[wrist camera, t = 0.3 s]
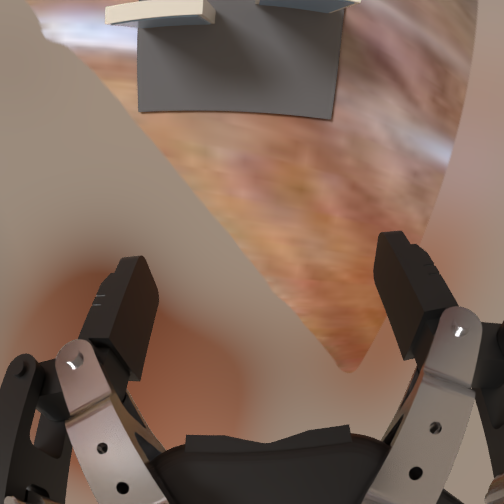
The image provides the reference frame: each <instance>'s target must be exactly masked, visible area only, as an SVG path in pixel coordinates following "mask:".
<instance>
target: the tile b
mask: <svg viewBox="0 0 504 504" xmlns="http://www.w3.org/2000/svg"><path fill="white" fill-rule="evenodd" d="M359 3H361V0H255V4H259V5H266V6H277V7H287V8H295V9H303V10H310V11H316V12H322V13H332V12H335V11H338V10H341V9H344V8H347V7H350V6H353V5H356V4H359Z"/></svg>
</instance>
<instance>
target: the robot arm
mask: <svg viewBox="0 0 504 504" xmlns="http://www.w3.org/2000/svg"><path fill="white" fill-rule="evenodd" d="M373 273H374V281H375V285H376V287H377V290H378V292H379V295H380V297H381V300H382V303H383V305H384V308H385V310H386V313H387V316H388V318H389V321H390V324H391V326H392V329H393V332H394V335H395V337H396V340H397V343H398V346H399V349H400V351H401V355H402V357H403V360H409V359H413V358H415V360H416V363H417V366H416V368H415V370H414V373H413V375H412V378H411V380H410V383H409V385H408V387H407V390H406V392H405V394H404V397H403V399H402V401H401V404H400V405H399V408H398V410H397V412H396V414H395V416H394V418H393V420H392V422H391V423H390V425H389V427H388V428H387V430H386V432H385V434H384V436H383V437H382V439H381V441H379V440H377V439H375V438H371V437H369V436H365V435H360V434H353V433H350V428H349V425H343V426H336V427H330V428H322V429H315V430H308V431H305V432H302V433H300V434H297V435H294V436H291V437H288V438H285V439H281V440H278V441H276V442H272V443H259V442H254V441H248V440H243V439H239V438H234V437H229V436H225V435H222V436H221V435H217V436H214V435H213V436H212V435H211V436H210V435H209V436H208V435H186V443H185V444H184V445H180V446H177V447H173V448H171V449H169V450H167V451H166V450H165V448H164V447H163V446H162V444H161V443H160V442H159V441H158V440H157V438H156V437H155V436H154V434H153V433H152V432H151V430H150V429H149V427H148V425H147V423H146V422H145V420H144V418H143V417H142V415H141V413H140V411H139V410H138V408H137V406H136V404H135V402H134V401H133V399H132V397H131V395H130V393H129V392H128V390H127V384H128V381H140V380H141V375H142V370H143V366H144V361H145V357H146V353H147V348H148V344H149V340H150V336H151V332H152V328H153V323H154V320H155V316H156V312H157V307H158V304H159V295H158V289H157V286H156V284H155V281H154V279H153V277H152V274H151V272H150V269H149V267H148V264H147V262H146V260H145V258H144V257H143V256H134V257H124V258H122V259H121V260H120V262H119V264H118V266H117V268H116V271H115V273H111V274H110V275H109V276H108V277H107V278H106V279H105V280H104V281H103V282H102V283H101V285H100V288H99V290H98V292H97V294H96V296H97V297H95V299H94V301H93V303H92V305H93V306H91V308H90V311H89V313H88V315H87V318H86V320H85V323H84V325H83V328H82V330H81V332H80V335H79V337H78V339H77V340H73V341H71V342H69V343H67V344H66V345H65V346H63V347H62V349H61V350H60V351H59V353H58V354H57V357H56V358H55V359H52V360H48V361H44V362H40V363H38V362H37V361H36V359H35V358H34V357H33V356H31V355H30V354H21V355H19V356H17V357H16V358H15V359H14V360H13V361H12V362H11V363H10V365H9V366H8V369H7V371H6V374H5V377H4V379H3V382H2V385H1V388H0V504H65V496H66V488H67V479H68V472H69V466H70V458H71V452H72V447H73V448H74V451H75V454H76V456H77V459H78V461H79V463H80V466H81V468H82V470H83V473H84V475H85V477H86V479H87V482H88V484H89V486H90V488H91V490H92V492H93V494H94V496H95V498H96V500H97V502H98V504H464V503H462V502H461V501H460V500H458V499H457V498H456V497H454V496H453V495H452V494H450V493H449V492H448V491H446V490H445V489H444V485H445V483H446V481H447V479H448V476H449V474H450V471H451V469H452V466H453V464H454V461H455V458H456V456H457V454H458V451H459V448H460V445H461V442H462V439H463V436H464V433H465V431H466V427H467V424H468V421H469V418H470V414H471V411H472V407H473V404H474V400H476V404H477V407H478V410H479V414H480V418H481V421H482V425H483V429H484V433H485V437H486V441H487V445H488V450H489V454H490V459H491V464H492V469H493V475H494V480H493V481H492V483H491V485H490V486H489V489H488V493H487V494H486V496H485V504H504V321H503V323H502V324H497V323H496V324H495V323H484V322H480V320H479V318H478V317H477V316H476V314H475V313H473V312H472V311H471V310H469V309H466V308H464V307H459V306H458V304H457V302H456V300H455V298H454V297H453V295H452V293H451V292H450V290H449V288H448V286H447V285H446V283H445V281H444V279H443V278H442V276H441V275H439V271H438V269H437V268H436V266H434V263H433V261H432V260H431V258H430V256H429V255H428V253H427V252H425V251H424V250H423V249H422V248H420V247H419V246H418V245H417V244H410V242H409V241H408V239H407V238H406V236H405V235H404V233H403V232H402V231H391V232H381V233H380V234H379V236H378V242H377V249H376V256H375V262H374V270H373ZM471 388H472V389H471ZM35 409H37V410H38V411H39V412H40V413H41V416H40V420H39V424H38V428H37V433H36V437H35V442H34V445H33V444H32V443H31V440H30V429H31V425H32V421H33V417H34V413H35Z"/></svg>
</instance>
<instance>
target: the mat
mask: <svg viewBox="0 0 504 504" xmlns="http://www.w3.org/2000/svg"><path fill="white" fill-rule="evenodd" d="M139 1H146V0H139ZM207 1H208V2H209V3H210V4H211V5H212V6H213V8H214V9H215V10H216V16H215V24H211V25H180V26H165V27H153V28H138V37H137V81H138V112H149V111H182V110H209V111H242V112H260V113H274V114H286V115H296V116H306V117H315V118H323V119H330V120H331V116H332V109H333V102H334V95H335V87H336V80H337V72H338V63H339V55H340V46H341V37H342V27H343V17H344V9H341V10H338V11H335V12H332V13H322V12H316V11H310V10H303V9H295V8H287V7H277V6H266V5H259V4H255V0H207Z"/></svg>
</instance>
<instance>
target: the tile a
mask: <svg viewBox="0 0 504 504" xmlns="http://www.w3.org/2000/svg"><path fill="white" fill-rule="evenodd" d="M215 16H216V10H215V9H214V8H213V6H212V5H211V4H210V3H209V2H208V1H207V0H146V1H139V2H132V3H125V4H119V5H114V6H108V7H106V8H105V24H109V25H115V26H127V27H136V28H153V27H165V26H180V25H211V24H215Z"/></svg>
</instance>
